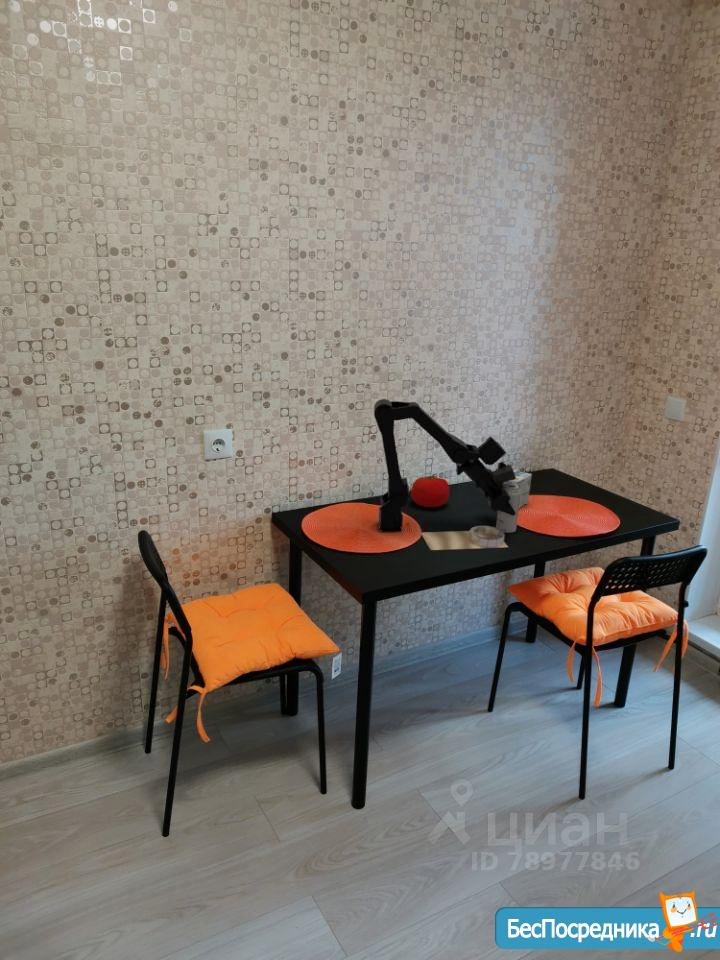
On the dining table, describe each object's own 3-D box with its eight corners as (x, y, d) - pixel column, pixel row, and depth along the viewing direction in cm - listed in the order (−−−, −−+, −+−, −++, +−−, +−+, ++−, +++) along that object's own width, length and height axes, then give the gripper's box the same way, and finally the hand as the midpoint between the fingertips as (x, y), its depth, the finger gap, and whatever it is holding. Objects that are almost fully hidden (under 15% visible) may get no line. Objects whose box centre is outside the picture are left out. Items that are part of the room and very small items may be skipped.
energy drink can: (493, 528, 227) (498, 482, 221) (512, 528, 227) (517, 482, 222) (498, 536, 221) (503, 489, 216) (518, 536, 222) (523, 489, 216)
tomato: (452, 511, 238) (454, 482, 235) (413, 512, 236) (415, 482, 233) (443, 498, 248) (446, 470, 245) (407, 499, 247) (408, 470, 243)
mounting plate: (430, 553, 207) (430, 550, 207) (420, 536, 219) (420, 532, 218) (508, 550, 211) (508, 547, 211) (494, 533, 222) (494, 530, 222)
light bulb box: (510, 498, 251) (514, 468, 247) (528, 503, 247) (532, 473, 243) (495, 507, 243) (498, 476, 240) (513, 512, 239) (517, 481, 236)
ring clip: (475, 548, 209) (476, 540, 209) (465, 534, 218) (465, 526, 218) (508, 547, 211) (509, 539, 210) (496, 533, 220) (497, 525, 219)
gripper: (506, 467, 207) (540, 505, 211) (495, 447, 225) (527, 483, 228) (476, 492, 210) (510, 529, 214) (467, 471, 227) (499, 505, 231)
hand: (512, 510), depth 222 cm, fingers closed on energy drink can, 6 cm apart
